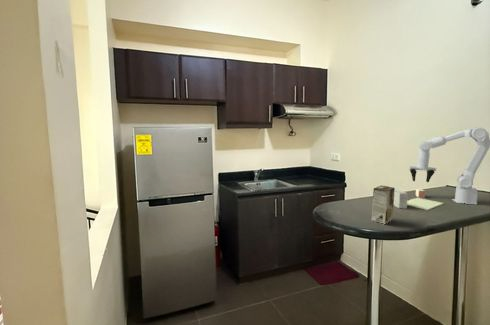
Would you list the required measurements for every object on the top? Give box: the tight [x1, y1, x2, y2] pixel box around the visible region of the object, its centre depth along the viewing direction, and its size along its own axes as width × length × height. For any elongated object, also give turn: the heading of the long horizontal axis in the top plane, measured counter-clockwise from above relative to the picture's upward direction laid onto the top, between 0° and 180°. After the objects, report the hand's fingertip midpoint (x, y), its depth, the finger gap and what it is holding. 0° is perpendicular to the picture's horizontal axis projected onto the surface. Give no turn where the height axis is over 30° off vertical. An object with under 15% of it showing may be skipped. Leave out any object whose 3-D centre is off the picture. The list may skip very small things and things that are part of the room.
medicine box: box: [393, 189, 409, 210], centre depth 143 cm, size 8×4×9 cm, turn 179°
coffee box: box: [371, 185, 396, 225], centre depth 120 cm, size 9×6×16 cm
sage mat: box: [407, 197, 444, 211], centre depth 148 cm, size 20×14×1 cm
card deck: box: [415, 188, 426, 199], centre depth 164 cm, size 3×6×4 cm, turn 161°
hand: (420, 181), depth 163 cm, fingers open, 7 cm apart
